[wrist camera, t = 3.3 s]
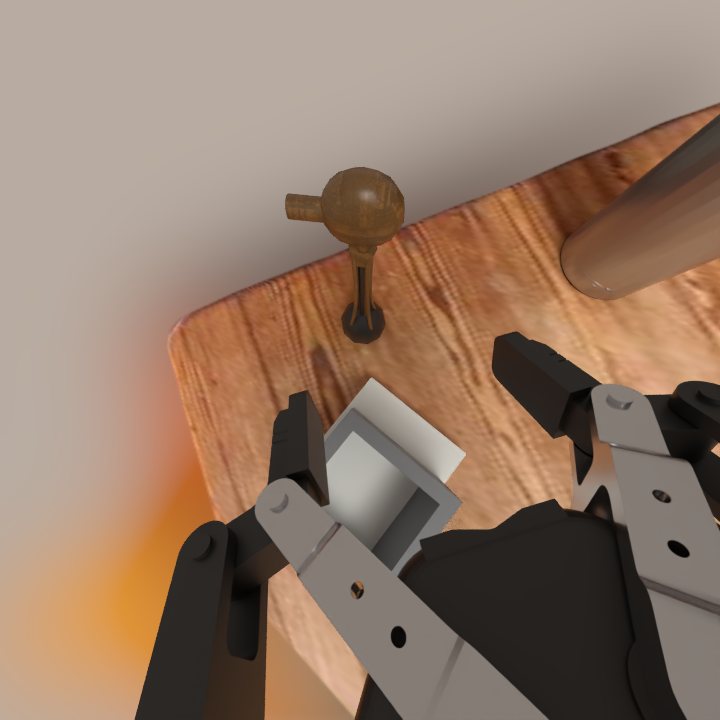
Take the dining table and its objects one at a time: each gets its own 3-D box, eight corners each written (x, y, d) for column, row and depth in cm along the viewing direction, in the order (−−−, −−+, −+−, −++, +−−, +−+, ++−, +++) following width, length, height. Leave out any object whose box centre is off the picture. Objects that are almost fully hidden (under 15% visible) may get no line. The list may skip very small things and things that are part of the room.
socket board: (371, 378, 29) (373, 370, 22) (461, 451, 28) (495, 468, 21) (259, 515, 27) (220, 557, 20) (350, 600, 26) (345, 679, 19)
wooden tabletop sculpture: (330, 339, 30) (265, 220, 10) (335, 300, 31) (284, 117, 11) (382, 345, 30) (419, 235, 10) (387, 305, 31) (429, 130, 11)
